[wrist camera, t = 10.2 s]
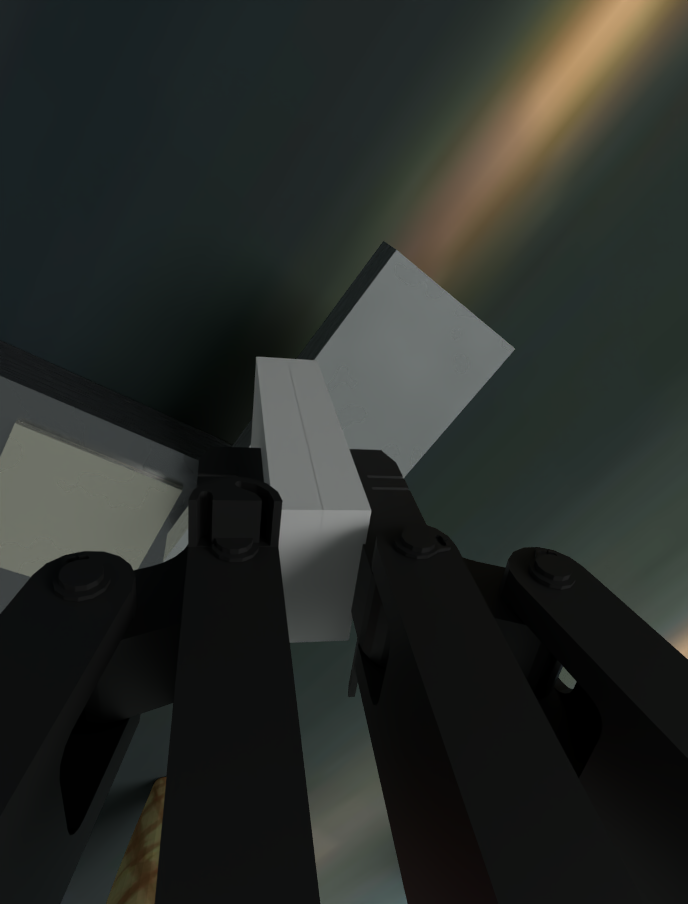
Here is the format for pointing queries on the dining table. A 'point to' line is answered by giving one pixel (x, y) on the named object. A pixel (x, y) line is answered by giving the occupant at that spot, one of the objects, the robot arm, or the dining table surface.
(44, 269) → the dining table surface
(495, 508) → the dining table surface
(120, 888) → the ice cream cone
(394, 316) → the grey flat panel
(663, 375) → the dining table surface
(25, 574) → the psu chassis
